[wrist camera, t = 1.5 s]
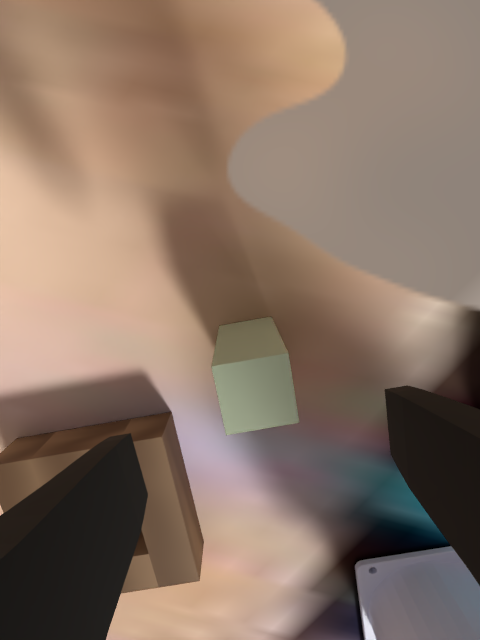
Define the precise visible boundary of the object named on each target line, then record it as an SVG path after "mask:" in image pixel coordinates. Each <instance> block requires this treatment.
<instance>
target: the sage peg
mask: <svg viewBox="0 0 480 640" xmlns="http://www.w3.org/2000/svg"><path fill="white" fill-rule="evenodd" d="M211 367H212V372H213V376H214V381H215V386H216V390H217V395H218V400H219V405H220V409H221V414H222V419H223V423H224V428H225V433H226V435H231V434H236V433H242V432H248V431H254V430H260V429H266V428H272V427H278V426H284V425H289V424H295V423H299V417H298V411H297V405H296V398H295V392H294V385H293V379H292V372H291V366H290V360H289V353H288V351H287V349H286V347H285V345H284V342H283V340H282V338H281V336H280V334H279V332H278V330H277V328H276V325H275V323H274V321H273V319H272V317H265V318H260V319H254V320H249V321H243V322H237V323H232V324H226V325H221V326H219V330H218V335H217V340H216V345H215V351H214V356H213V361H212V366H211Z"/></svg>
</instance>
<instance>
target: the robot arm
mask: <svg viewBox="0 0 480 640" xmlns="http://www.w3.org/2000/svg"><path fill="white" fill-rule="evenodd" d="M385 396H386V408H387V419H388V430H389V441H390V452H391V456H392V458H393V459H394V461H395V463H396V465H397V467H398V469H399V471H400V472H401V474H402V476H403V478H404V480H405V481H406V483H407V485H408V487H409V488H410V490H411V491H412V492H413V494H414V495H415V497H416V498H417V499H418V501H419V502H420V504H421V505H422V506H423V508H424V509H425V511H426V512H427V513H428V515H429V516H430V518H431V519H432V520H433V522H434V523H435V524H436V526H437V527H438V528H439V530H440V531H441V533H442V534H443V535H444V537H445V538H446V539H447V541H448V542H449V544H450V545H451V546H449V547H442V548H436V549H430V550H423V551H417V552H410V553H404V554H398V555H391V556H385V557H379V558H372V559H366V560H361V561H358V562H357V563H356V565H355V573H356V581H357V589H358V597H359V604H360V612H361V620H362V628H363V635H364V640H480V409H477V408H474V407H472V406H469V405H466V404H463V403H460V402H457V401H454V400H451V399H448V398H446V397H443V396H440V395H437V394H434V393H431V392H428V391H425V390H422V389H419V388H415V387H411V386H402V387H396V388H390V389H385ZM147 498H148V492H147V489H146V485H145V482H144V478H143V475H142V471H141V468H140V464H139V461H138V457H137V454H136V450H135V447H134V443H133V440H132V436H131V433H128V434H122V435H116V436H110V437H108V438H107V439H105V440H103V441H102V442H100V443H99V444H97V445H96V446H94V447H93V448H92V449H90V450H89V451H88V452H86V453H85V454H84V455H82V456H81V457H80V458H78V459H77V460H76V461H74V462H73V463H72V464H70V465H69V466H68V467H66V468H65V469H64V470H62V471H61V472H60V473H59V474H57V475H56V476H55V477H53V478H52V479H51V480H49V481H48V482H47V483H45V484H44V485H43V486H41V487H40V488H38V489H37V490H36V491H34V492H33V493H31V494H30V495H29V496H27V497H26V498H24V499H23V500H22V501H20V502H19V503H18V504H16V505H15V506H13V507H12V508H11V509H9V510H8V511H6V512H5V513H3V514H2V515H1V516H0V640H106V637H107V633H108V630H109V627H110V624H111V621H112V618H113V615H114V612H115V609H116V606H117V603H118V600H119V597H120V594H121V591H122V588H123V585H124V582H125V579H126V576H127V573H128V570H129V567H130V564H131V561H132V558H133V555H134V552H135V548H136V545H137V542H138V539H139V536H140V533H141V529H142V524H143V519H144V515H145V509H146V503H147ZM371 567H372V568H371Z"/></svg>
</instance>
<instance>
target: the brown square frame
mask: <svg viewBox="0 0 480 640" xmlns="http://www.w3.org/2000/svg"><path fill="white" fill-rule="evenodd" d="M128 433H131V436H132V440H133V443H134V447H135V450H136V454H137V457H138V461H139V464H140V468H141V471H142V475H143V478H144V482H145V485H146V489H147V492H148V498H147V503H146V509H145V515H144V519H143V524H142V529H141V533H140V536H139V539H138V542H137V545H136V548H135V552H134V555H133V558H132V561H131V564H130V567H129V570H128V573H127V576H126V579H125V582H124V585H123V588H122V591H121V593H127V592H133V591H140V590H146V589H152V588H159V587H165V586H171V585H178V584H184V583H190V582H197V581H200V572H201V563H202V554H203V544H204V541H203V537H202V533H201V529H200V525H199V521H198V517H197V513H196V509H195V505H194V501H193V497H192V493H191V489H190V485H189V481H188V477H187V473H186V469H185V465H184V461H183V457H182V453H181V449H180V445H179V441H178V437H177V433H176V429H175V425H174V421H173V417H172V413H171V412H168V413H162V414H156V415H150V416H145V417H139V418H133V419H127V420H122V421H116V422H110V423H104V424H98V425H93V426H87V427H81V428H75V429H69V430H64V431H58V432H52V433H46V434H40V435H35V436H29V437H23V438H17V439H16V440H15V441H14V442H12V443H11V444H10V445H9V446H8V447H7V448H6V449H5V450H4V451H2V452H1V453H0V505H1V507H2V510H3V512H4V513H5V512H6V511H8V510H9V509H11V508H12V507H13V506H15V505H16V504H18V503H19V502H20V501H22V500H23V499H24V498H26V497H27V496H29V495H30V494H31V493H33V492H34V491H36V490H37V489H38V488H40V487H41V486H43V485H44V484H45V483H47V482H48V481H49V480H51V479H52V478H53V477H55V476H56V475H57V474H59V473H60V472H61V471H62V470H64V469H65V468H66V467H68V466H69V465H70V464H72V463H73V462H74V461H76V460H77V459H78V458H80V457H81V456H82V455H84V454H85V453H86V452H88V451H89V450H90V449H92V448H93V447H94V446H96V445H97V444H99V443H100V442H102V441H103V440H105V439H107V438H108V437H110V436H116V435H122V434H128Z"/></svg>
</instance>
